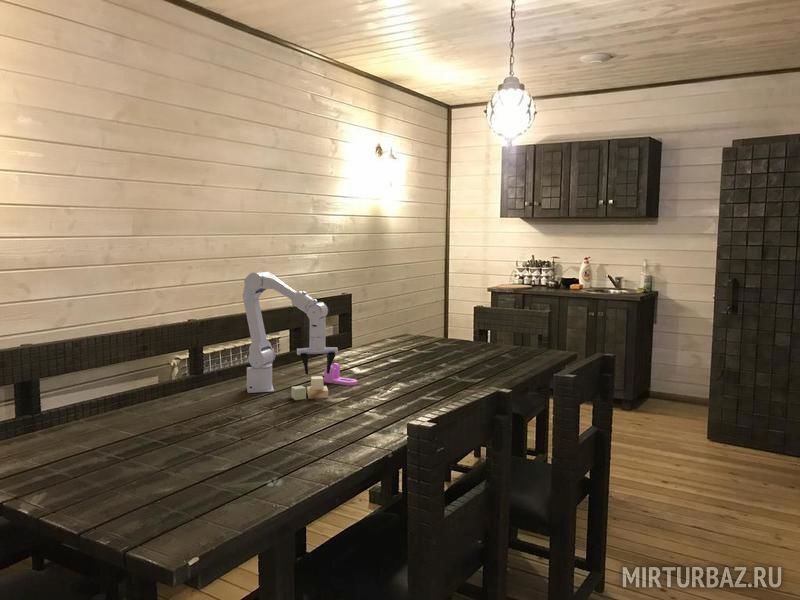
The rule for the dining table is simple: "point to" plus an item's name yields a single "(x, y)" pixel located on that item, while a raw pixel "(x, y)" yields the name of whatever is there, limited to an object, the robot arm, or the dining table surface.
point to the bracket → (337, 376)
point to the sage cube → (298, 392)
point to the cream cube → (317, 383)
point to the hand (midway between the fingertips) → (317, 373)
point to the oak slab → (317, 393)
